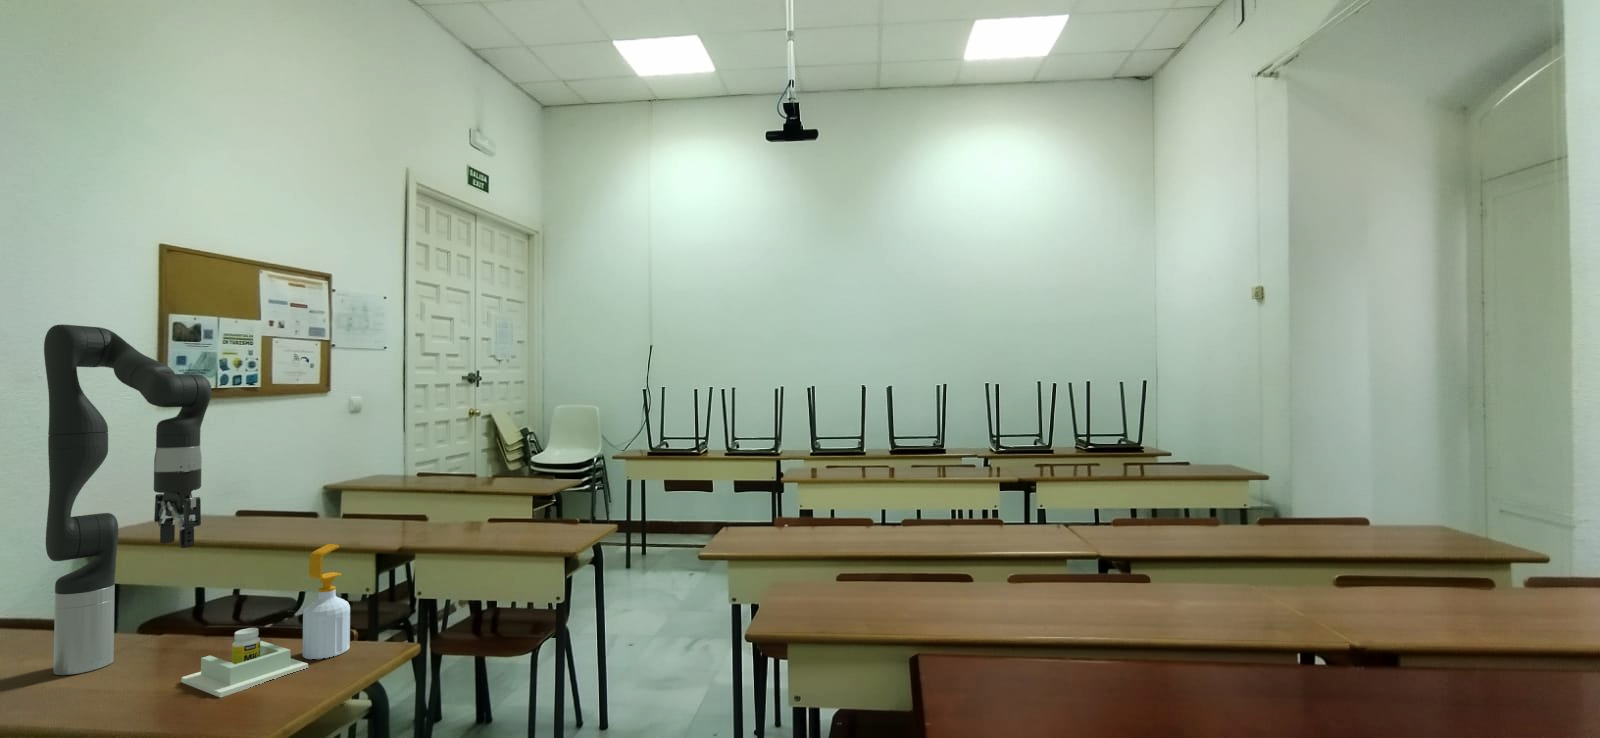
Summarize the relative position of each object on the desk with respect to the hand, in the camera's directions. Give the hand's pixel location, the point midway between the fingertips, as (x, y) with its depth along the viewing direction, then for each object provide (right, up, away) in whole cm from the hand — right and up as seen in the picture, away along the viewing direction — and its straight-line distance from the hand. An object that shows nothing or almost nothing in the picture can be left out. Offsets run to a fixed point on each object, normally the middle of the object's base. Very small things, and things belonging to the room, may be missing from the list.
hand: (176, 545), depth 147 cm
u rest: (+14, -28, +1) cm, 31 cm away
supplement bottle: (+14, -27, +1) cm, 31 cm away
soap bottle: (+22, -29, +14) cm, 39 cm away
